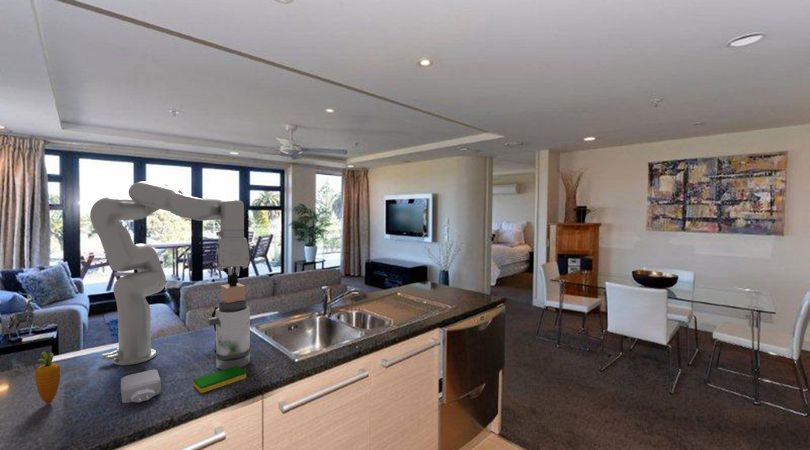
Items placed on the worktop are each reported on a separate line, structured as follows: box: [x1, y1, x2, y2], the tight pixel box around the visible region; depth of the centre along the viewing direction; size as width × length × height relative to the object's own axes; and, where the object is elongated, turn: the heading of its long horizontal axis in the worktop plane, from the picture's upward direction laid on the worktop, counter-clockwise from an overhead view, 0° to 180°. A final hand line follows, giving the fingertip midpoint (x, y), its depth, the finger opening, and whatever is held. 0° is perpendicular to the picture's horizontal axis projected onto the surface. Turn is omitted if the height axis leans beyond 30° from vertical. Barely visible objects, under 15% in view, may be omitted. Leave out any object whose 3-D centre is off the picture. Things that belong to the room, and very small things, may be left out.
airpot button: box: [220, 282, 246, 303], centre depth 127 cm, size 6×6×5 cm
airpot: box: [207, 297, 251, 371], centre depth 126 cm, size 14×11×27 cm
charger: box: [120, 369, 162, 404], centre depth 105 cm, size 5×9×15 cm
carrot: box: [34, 351, 61, 405], centre depth 100 cm, size 5×5×15 cm
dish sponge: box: [192, 366, 247, 394], centre depth 114 cm, size 7×14×2 cm, turn 137°
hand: (232, 285), depth 127 cm, fingers closed
